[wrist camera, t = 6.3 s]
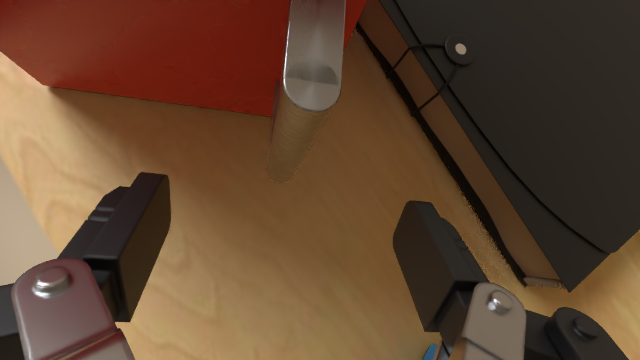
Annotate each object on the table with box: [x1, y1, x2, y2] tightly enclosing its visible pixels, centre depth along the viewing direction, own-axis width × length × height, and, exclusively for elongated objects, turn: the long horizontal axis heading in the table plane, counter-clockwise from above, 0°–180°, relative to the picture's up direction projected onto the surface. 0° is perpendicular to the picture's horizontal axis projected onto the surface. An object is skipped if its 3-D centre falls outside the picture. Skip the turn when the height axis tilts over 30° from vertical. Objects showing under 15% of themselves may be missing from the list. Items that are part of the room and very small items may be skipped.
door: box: [0, 0, 367, 183], centre depth 13 cm, size 6×17×17 cm, turn 86°
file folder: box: [356, 0, 640, 292], centre depth 27 cm, size 33×4×24 cm
